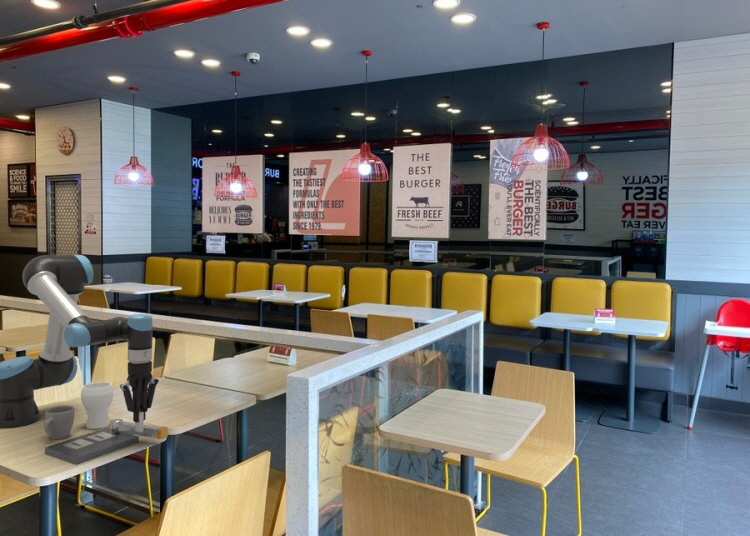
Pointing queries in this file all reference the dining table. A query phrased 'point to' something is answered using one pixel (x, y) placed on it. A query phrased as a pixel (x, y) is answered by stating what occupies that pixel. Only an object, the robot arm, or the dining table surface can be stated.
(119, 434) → the chassis
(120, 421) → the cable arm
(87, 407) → the cup
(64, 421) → the mug
